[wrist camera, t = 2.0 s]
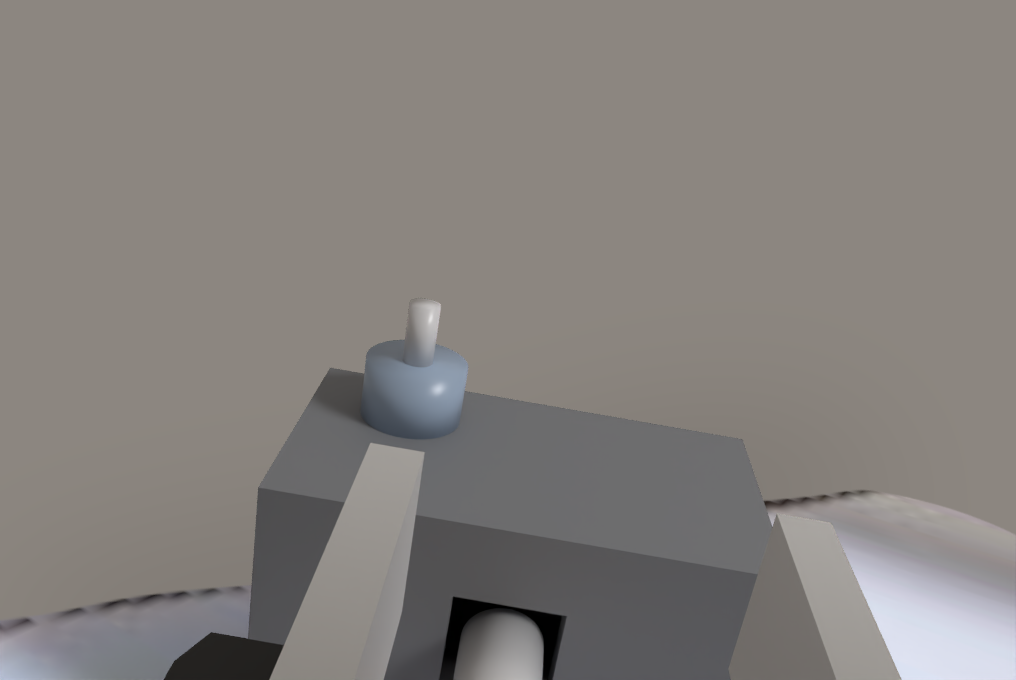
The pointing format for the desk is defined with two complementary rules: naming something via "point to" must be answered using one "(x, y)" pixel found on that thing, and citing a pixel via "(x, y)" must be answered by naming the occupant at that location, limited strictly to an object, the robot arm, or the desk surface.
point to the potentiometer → (414, 380)
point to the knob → (500, 647)
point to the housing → (532, 535)
